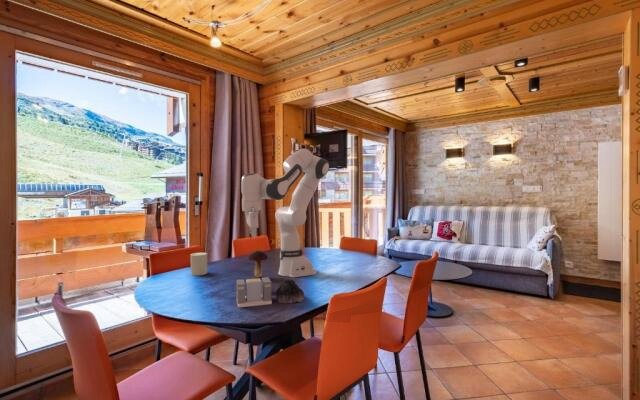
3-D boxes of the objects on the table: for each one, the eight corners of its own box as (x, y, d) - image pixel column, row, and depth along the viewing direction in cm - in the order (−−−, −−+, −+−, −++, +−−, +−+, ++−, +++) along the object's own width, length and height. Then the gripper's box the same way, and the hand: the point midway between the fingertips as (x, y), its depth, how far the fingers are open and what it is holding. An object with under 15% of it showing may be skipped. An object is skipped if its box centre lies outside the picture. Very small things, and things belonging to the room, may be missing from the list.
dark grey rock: (289, 294, 152) (287, 273, 151) (312, 297, 143) (309, 275, 143) (269, 304, 141) (266, 281, 141) (291, 308, 133) (288, 284, 132)
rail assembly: (268, 295, 146) (267, 276, 146) (271, 303, 136) (271, 282, 136) (236, 299, 142) (236, 278, 142) (237, 307, 132) (237, 285, 131)
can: (191, 272, 190) (190, 252, 190) (207, 271, 193) (207, 251, 193) (189, 276, 182) (189, 255, 181) (207, 274, 184) (206, 254, 184)
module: (259, 296, 142) (259, 278, 142) (261, 299, 138) (261, 281, 137) (246, 297, 140) (245, 279, 140) (247, 301, 136) (246, 282, 136)
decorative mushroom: (264, 280, 172) (264, 252, 172) (245, 279, 174) (244, 252, 173) (270, 275, 183) (270, 249, 182) (252, 274, 184) (252, 248, 184)
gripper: (261, 207, 144) (262, 238, 145) (255, 205, 163) (257, 232, 164) (246, 208, 142) (248, 239, 143) (243, 206, 162) (244, 233, 162)
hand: (252, 235), depth 154 cm, fingers open, 8 cm apart
